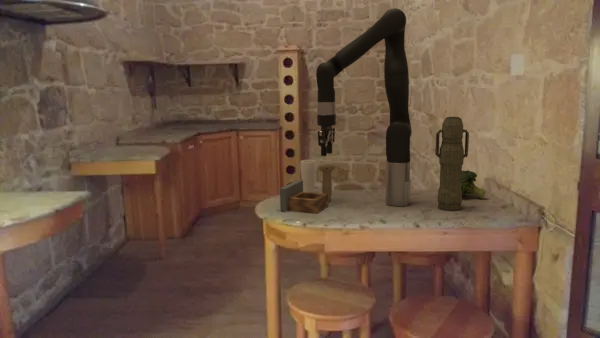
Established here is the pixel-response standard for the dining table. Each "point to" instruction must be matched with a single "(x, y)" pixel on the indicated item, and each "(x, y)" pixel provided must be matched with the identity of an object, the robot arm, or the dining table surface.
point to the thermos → (451, 163)
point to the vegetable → (470, 185)
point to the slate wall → (289, 193)
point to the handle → (327, 179)
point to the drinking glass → (308, 175)
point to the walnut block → (308, 202)
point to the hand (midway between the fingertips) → (326, 154)
